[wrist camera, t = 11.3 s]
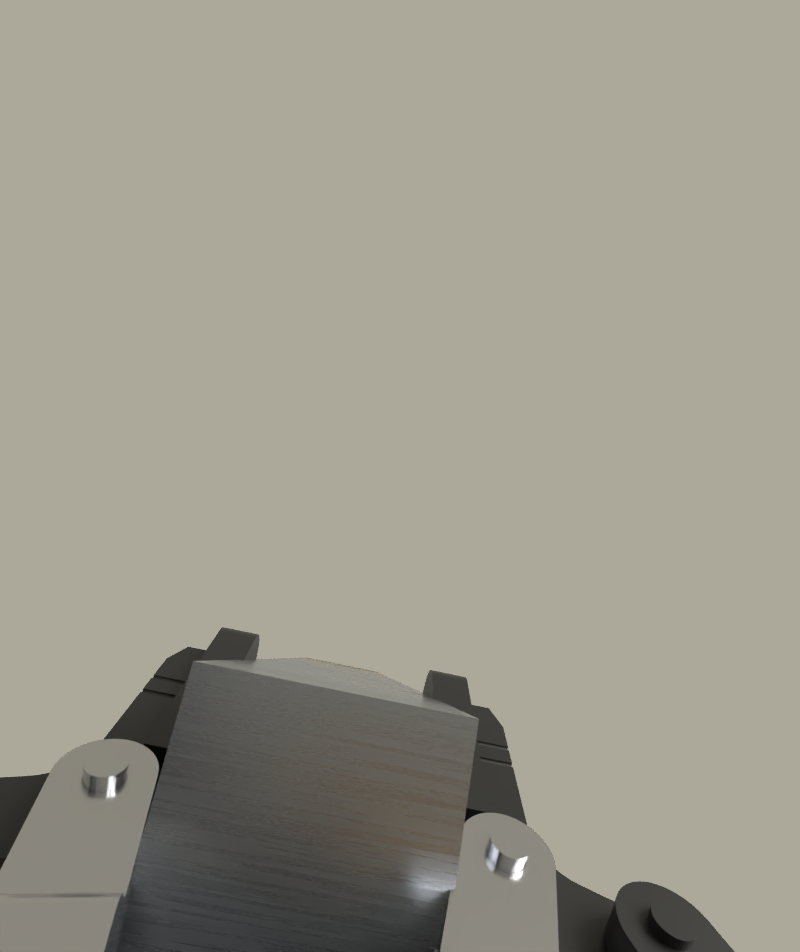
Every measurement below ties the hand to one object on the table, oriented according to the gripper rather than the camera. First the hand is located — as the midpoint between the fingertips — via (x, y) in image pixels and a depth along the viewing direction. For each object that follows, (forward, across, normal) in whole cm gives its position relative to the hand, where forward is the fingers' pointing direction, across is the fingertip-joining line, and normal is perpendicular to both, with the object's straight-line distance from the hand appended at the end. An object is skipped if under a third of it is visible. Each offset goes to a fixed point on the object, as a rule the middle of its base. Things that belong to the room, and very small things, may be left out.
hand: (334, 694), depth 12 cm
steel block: (+5, 0, +6) cm, 8 cm away
